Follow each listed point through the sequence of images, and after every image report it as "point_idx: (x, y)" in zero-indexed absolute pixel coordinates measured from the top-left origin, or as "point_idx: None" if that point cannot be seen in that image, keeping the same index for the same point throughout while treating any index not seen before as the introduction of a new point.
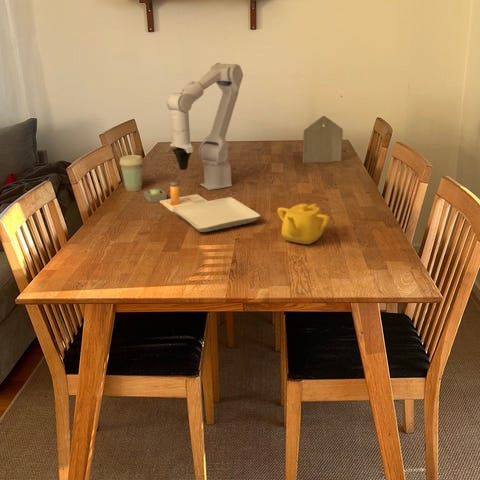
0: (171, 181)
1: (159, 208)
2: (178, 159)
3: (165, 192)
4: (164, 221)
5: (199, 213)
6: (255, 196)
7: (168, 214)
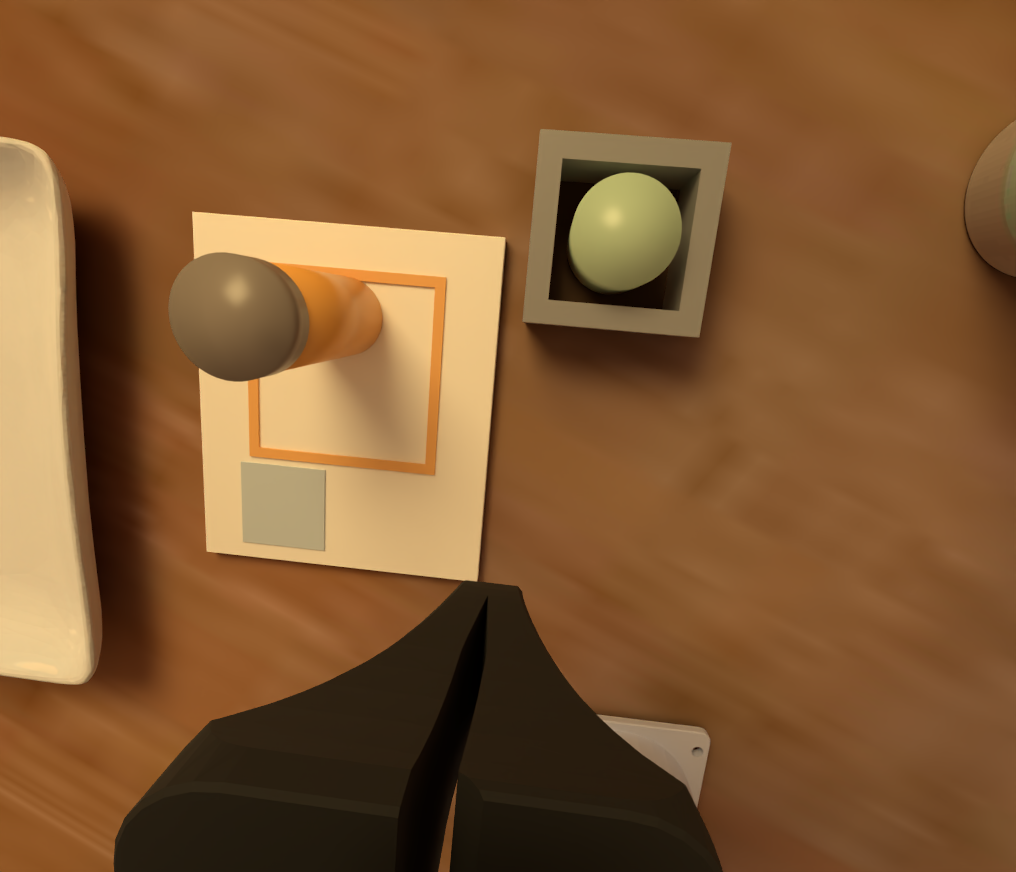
0: (285, 301)
1: (347, 160)
2: (449, 660)
3: (541, 321)
4: (20, 49)
5: (23, 360)
6: None
7: (166, 159)
